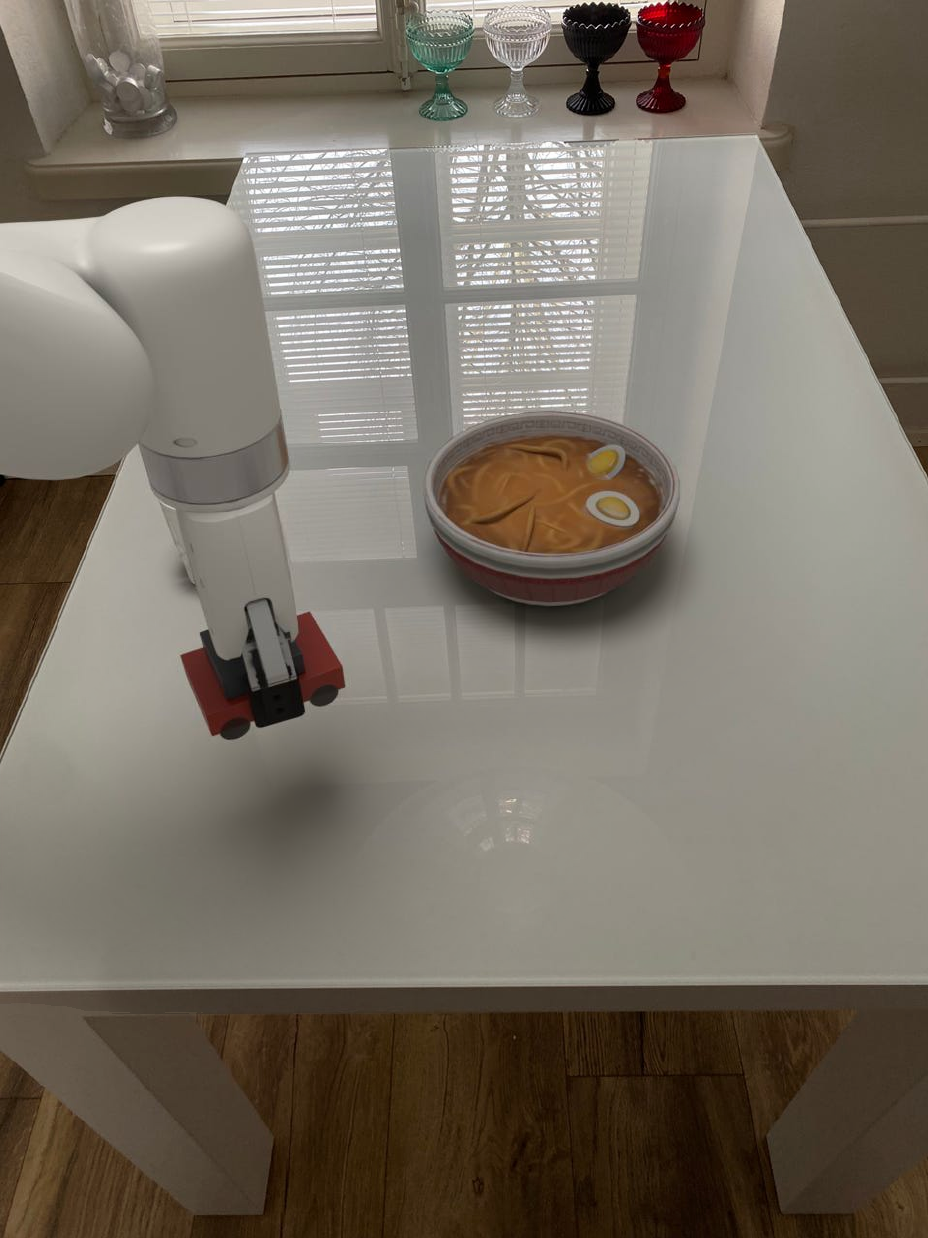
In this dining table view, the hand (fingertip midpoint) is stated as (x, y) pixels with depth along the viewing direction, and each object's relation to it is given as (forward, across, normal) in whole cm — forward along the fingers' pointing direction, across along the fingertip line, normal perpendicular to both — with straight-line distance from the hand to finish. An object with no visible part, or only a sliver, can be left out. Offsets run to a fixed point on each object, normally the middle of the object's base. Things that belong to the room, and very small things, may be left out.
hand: (267, 680), depth 63 cm
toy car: (-1, +3, 0) cm, 3 cm away
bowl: (+13, -18, +30) cm, 37 cm away
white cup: (+14, -30, +1) cm, 33 cm away
